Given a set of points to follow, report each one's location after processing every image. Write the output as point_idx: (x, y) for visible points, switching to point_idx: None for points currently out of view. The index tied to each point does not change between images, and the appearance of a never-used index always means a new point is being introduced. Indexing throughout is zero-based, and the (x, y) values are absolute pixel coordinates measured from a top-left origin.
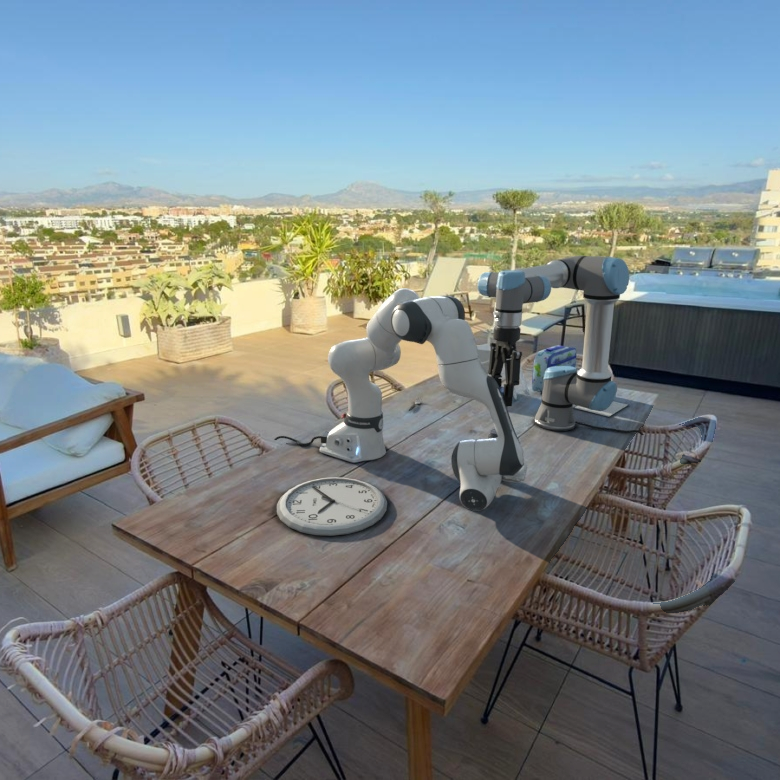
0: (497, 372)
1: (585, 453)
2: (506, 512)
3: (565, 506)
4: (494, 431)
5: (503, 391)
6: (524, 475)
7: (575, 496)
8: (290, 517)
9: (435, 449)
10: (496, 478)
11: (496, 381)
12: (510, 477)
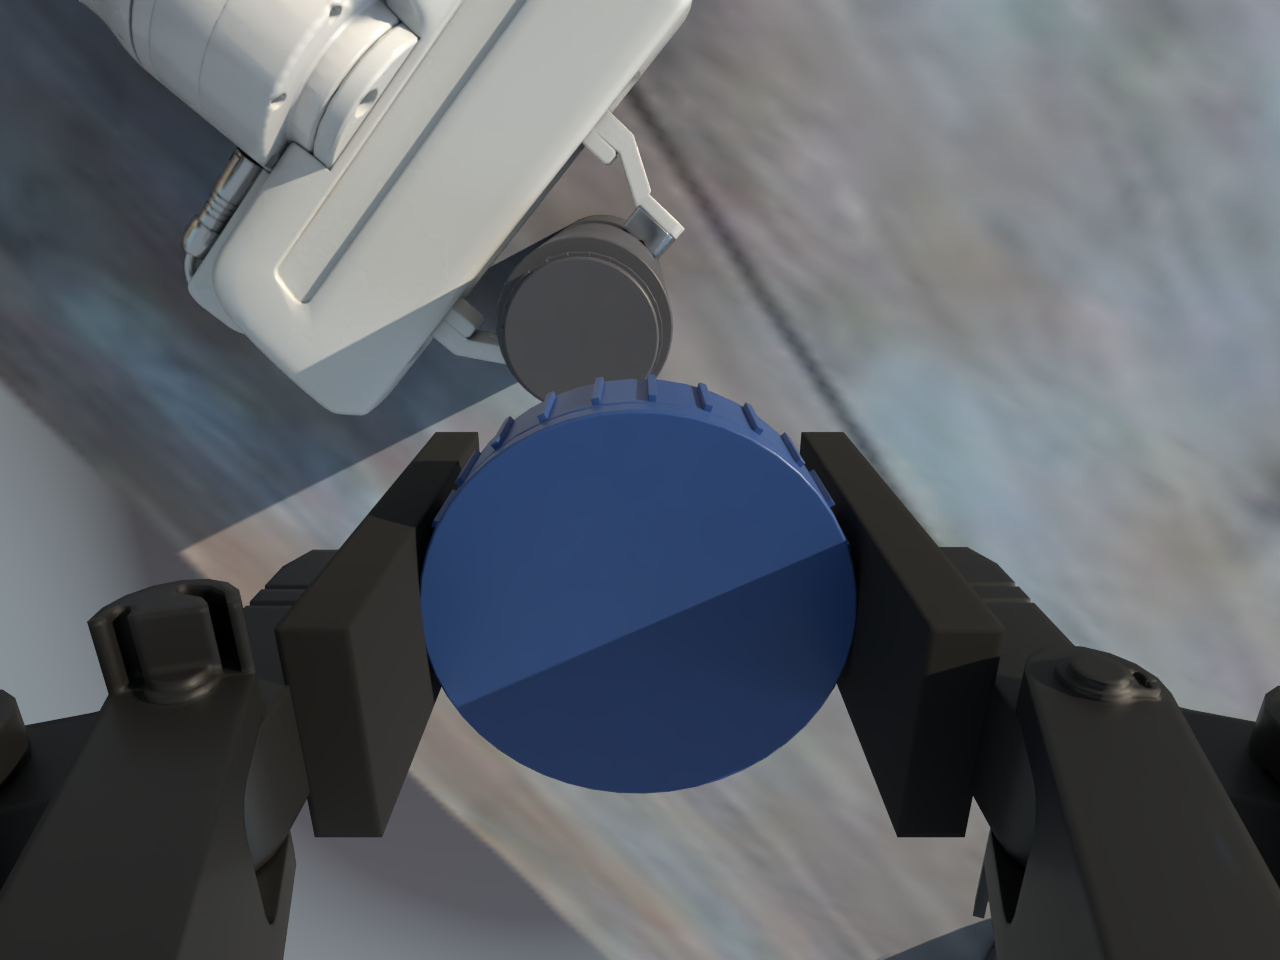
0: (1032, 899)
1: (702, 894)
2: (129, 87)
3: (169, 471)
4: (595, 305)
5: (489, 571)
6: (236, 327)
7: (267, 581)
8: None
9: (1175, 55)
10: (100, 16)
11: (896, 668)
12: (211, 200)
